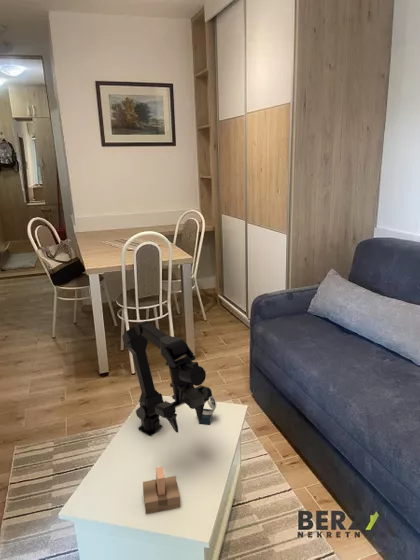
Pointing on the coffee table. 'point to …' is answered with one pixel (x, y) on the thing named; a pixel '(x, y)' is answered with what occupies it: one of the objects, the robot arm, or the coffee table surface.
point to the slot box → (161, 502)
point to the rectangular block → (160, 481)
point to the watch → (208, 412)
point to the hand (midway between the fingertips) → (188, 426)
